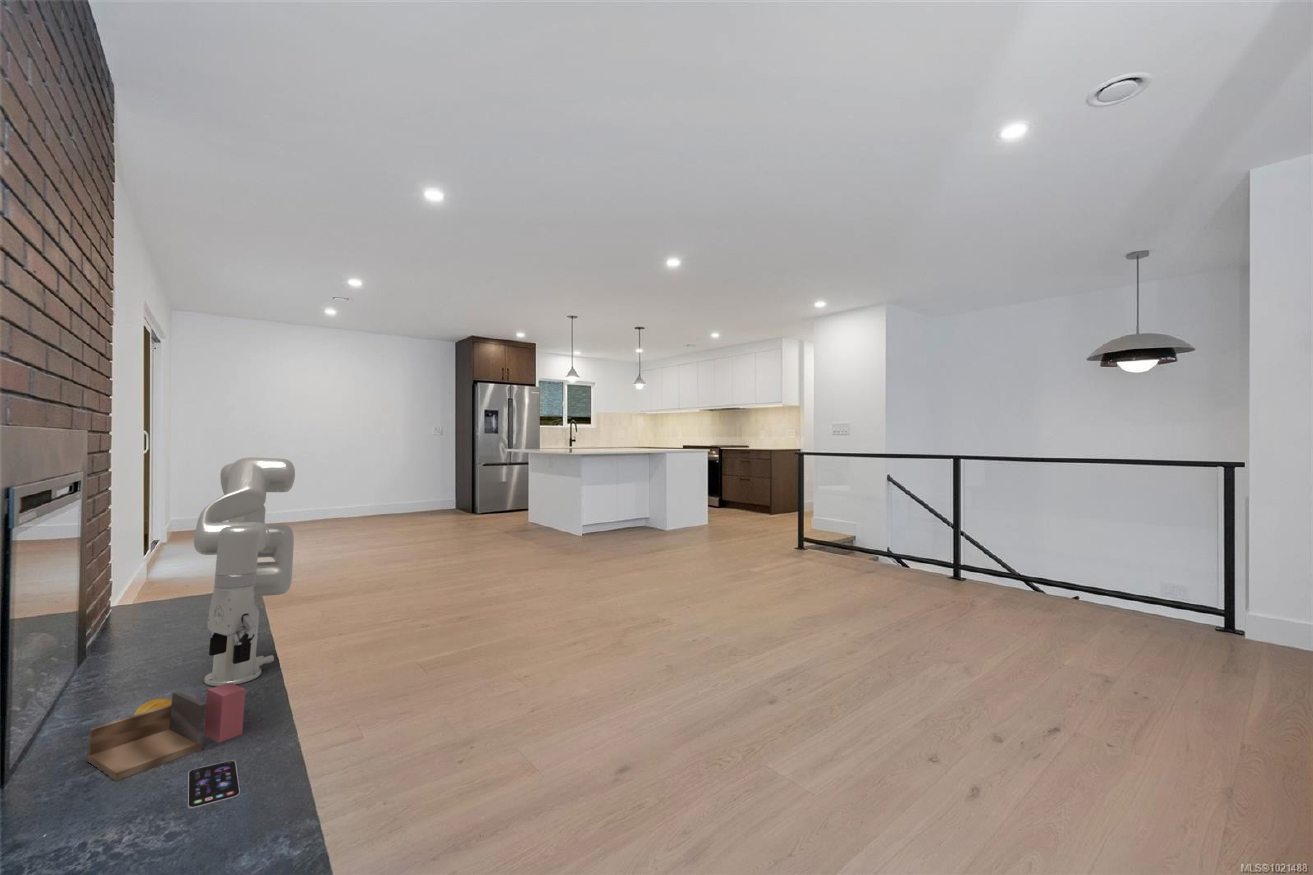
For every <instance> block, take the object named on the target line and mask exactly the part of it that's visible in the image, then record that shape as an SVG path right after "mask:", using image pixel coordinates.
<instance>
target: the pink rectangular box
mask: <svg viewBox="0 0 1313 875" xmlns="http://www.w3.org/2000/svg"><path fill="white" fill-rule="evenodd" d="M246 690H247V689H246V688H245V687H241V686H239V685H238V684H232V683H227V684H224V685H220V686H213V687H211V688H208V689H207V690H206V691H207V692H206V700H205V701H206V703H205V704H206V710H205V722H204V734H203V736H205V737H208V738H209V739H210V740H213V741H215V742H217V743H219V744H220V743H222V742H225V741H228V740H230V739H233V738H236V737H238V736H241V735H243V730H244V729H243V728H244V717H245V716H244V715H245V705H246V704H245V702H246Z"/></svg>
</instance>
